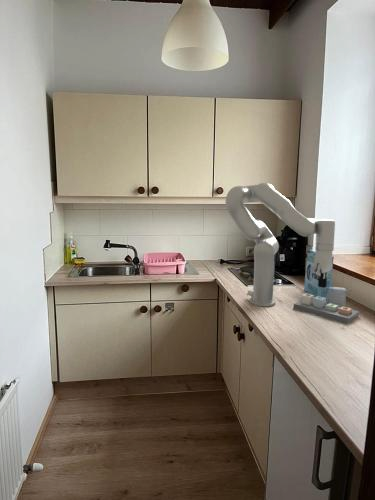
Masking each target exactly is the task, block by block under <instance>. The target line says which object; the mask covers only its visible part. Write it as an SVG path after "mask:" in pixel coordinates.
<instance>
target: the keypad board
mask: <svg viewBox="0 0 375 500" xmlns="http://www.w3.org/2000/svg"><path fill="white" fill-rule="evenodd" d="M301 302H302V299H301V300H299V301H297V302H294V303H293V307H292V308H293V310H295V311H299V312H304V313H306V314H311V315H315V316H317V317H321V318H325V319H328V320H332V321H336V322H340V323H343V324H347V325H350V324H351V323H352V322H354V321H355V320H356V319H358V318H359V317H360V311H358V310H354V309H352V313H351V314H350V315H345V314H341V313H339V308H341V307H339V306H338V310H337V311H336V312H334V311H330V310H326V306H325V307H323V308H318V307H314V306H313V304H311V305H307V304H303V303H301ZM326 305H327V302H326Z"/></svg>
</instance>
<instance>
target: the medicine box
mask: <svg viewBox="0 0 375 500" xmlns="http://www.w3.org/2000/svg"><path fill="white" fill-rule="evenodd" d="M346 298H347V289H346V288H345V287H339V286H338V287H337V286H331V287H328V291H327V301H326V303H327V304H329V303H331V304H335V305H339V307H342V306H343V307H346Z"/></svg>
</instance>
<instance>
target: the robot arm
mask: <svg viewBox="0 0 375 500" xmlns="http://www.w3.org/2000/svg"><path fill="white" fill-rule="evenodd" d="M257 202H260V203H261V204H263V206H264V207H266V208H267V209H268V210H270V211H272V213H274V214H275V215H276V216H277V217H278V218H279V219H280V220H281V221H282V222H283V223H284V224H286V225H287V226H288V227H289V228H290V229H291V230H293V231H294V232H296V233H297V234H298V235H299V236H302V237H310V236H312V235H315V247H314V248H315V249H314V250H316V251H315V256H314V263H313V271H314V272H317V274H316V275H317V276H318V278H319V279H318V286H319V287H323V288H325V287H326V286H327V279H326V278H327V277H328V273H329V271H330V270H331V269H332V259H333V257H334V256H333V252H334V249H335V247H334V245H335V230H336V222H335V220H334V219H330V218H320V219H317V218H312V217H308V218H307V217H306V216H305V215H303V214H302V213H300V212H299V211H298V210H297V209H296V208H295V207H294V206H293V204H292V202H291V201H290V200H289V199H288V198H286V197H285V195H282V194H281V193H280V192H279V191H278V190H276V189H275V187H274V185H272V184H271V183H267V182H262V183H261V182H260V183H259V184H253V185H236V186H233V187H231V188H230V189H229V190H228V192H227V194H226V196H225V209H226V210H227V212H228V214H229V215H230V218H231V219H232V220H233V221H234V223H235V224H236V226H237V227H238V229H239V230H240V231H241V233H242V235H243V236H244V237H245V239H247V240H249V241H254V243H255V245H254V248H253V260H254V261H253V265H254V266H253V267H254V268H253V287H252V288H253V289H252V290H247V293H246V296H249V297H250V298H249V304H251V305H253V306H257V307H272V306H274V305H276V304H277V301H276V300H275V298H273V296H274V281H275V279H274V277H275V255H276V254H277V252H278V251H279V248H280V244H279V242H278V240H277V239H276V237H275V236H274V234H273V233H272V231H271V230H270V228H269V227H268V226H267V225H266V223H264V221H262V220H261V219H255V217H253V215H252V213H251V212H250V211H249V209H248V208H247V207H246V206H245V204H248V203H250V204H251V203H257ZM333 260H334V259H333ZM332 270H333V269H332Z"/></svg>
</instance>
